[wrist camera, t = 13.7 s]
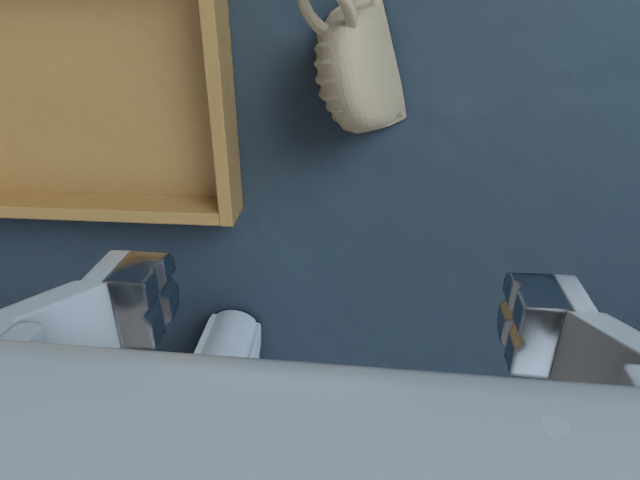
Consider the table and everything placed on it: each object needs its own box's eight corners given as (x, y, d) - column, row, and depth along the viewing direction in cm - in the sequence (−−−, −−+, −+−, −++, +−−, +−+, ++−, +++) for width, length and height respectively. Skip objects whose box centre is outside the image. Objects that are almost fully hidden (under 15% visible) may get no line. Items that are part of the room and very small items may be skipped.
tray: (223, -59, 27) (208, -62, 24) (243, 207, 33) (233, 227, 31) (-104, -57, 28) (-151, -60, 26) (-22, 198, 35) (-52, 216, 32)
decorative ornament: (336, 135, 31) (330, 166, 26) (298, -21, 27) (282, -17, 22) (406, 119, 30) (412, 148, 25) (376, -43, 26) (377, -44, 22)
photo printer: (251, 418, 42) (208, 580, 31) (197, 407, 42) (135, 565, 31) (269, 314, 37) (226, 461, 26) (209, 301, 37) (140, 443, 26)
